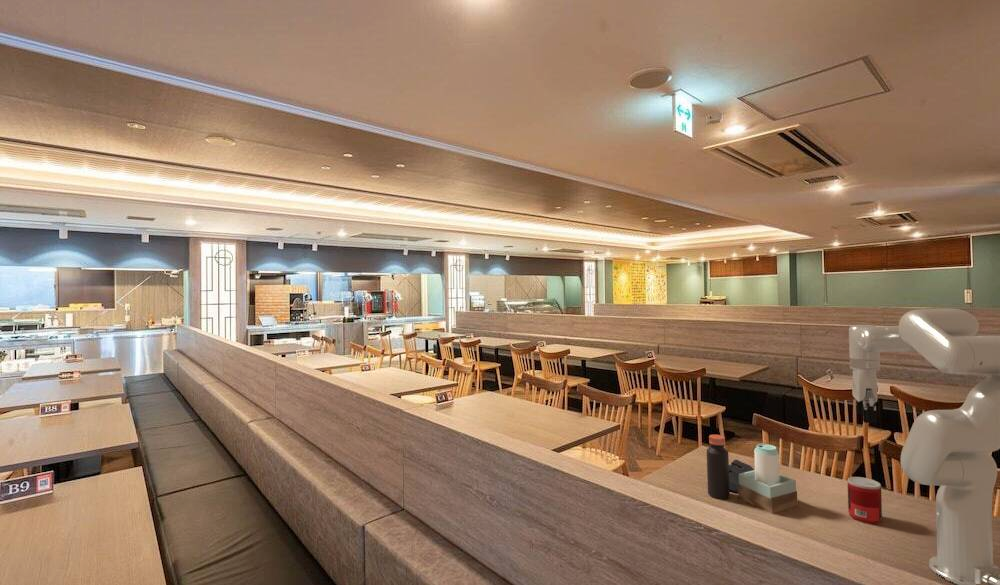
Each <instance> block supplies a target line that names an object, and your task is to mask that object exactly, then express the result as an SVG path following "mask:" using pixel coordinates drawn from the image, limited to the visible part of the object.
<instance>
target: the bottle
mask: <svg viewBox="0 0 1000 585" xmlns="http://www.w3.org/2000/svg"><path fill="white" fill-rule="evenodd" d="M708 441H709V442H708V443H709V447H708V448H706V472H707V474H706V475H707V479H706V480H707V493H708V495H709V496H710V497H711V498H714V499H719V500H727V499H728V498H730V496H731V495H730V492H731V491H730V490H729V465H730V460H729V452H728V450H727V449H726V448H725V446H726V437H725V436H723V435H721V434H710V435H709V436H708Z"/></svg>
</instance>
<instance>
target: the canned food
mask: <svg viewBox="0 0 1000 585" xmlns="http://www.w3.org/2000/svg"><path fill="white" fill-rule="evenodd" d="M882 501H883V500H882V484H881V483H880V482H878V481H876V480H875V479H871V478H867V477H863V476H862V477H861V476H851V477H848V478H847V508H848V514H849V516H850V517H851V518H852V519H854V520H856V521H859V522H861V523H864V524H872V525H876V524H880V523H881V522H882V520H883V507H882V504H883V503H882Z"/></svg>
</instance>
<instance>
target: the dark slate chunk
mask: <svg viewBox="0 0 1000 585" xmlns="http://www.w3.org/2000/svg"><path fill="white" fill-rule="evenodd" d="M753 470H755V468H754V467H753V466H751V465H749V464H747V463H745V462H742V461H740V460H739V459H734V460H733V461H731V463H730V464H729V491H730V492H734V493H737V494H738V485H739V474H741V473H745V472H749V471H753Z"/></svg>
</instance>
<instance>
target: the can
mask: <svg viewBox="0 0 1000 585" xmlns="http://www.w3.org/2000/svg"><path fill="white" fill-rule="evenodd" d="M753 451H754V452H753V453H754V454H753V456H754V470H755V480H757V481H759V482H762V483H764V484H766V485H769V486H771V485H775V484H779V483H780V475H781V474H780V452H779V451H778V449H777V446H775V445H772V444H768V443H758V444H756V447H755V448H754V449H753ZM779 474H780V475H779Z"/></svg>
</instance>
